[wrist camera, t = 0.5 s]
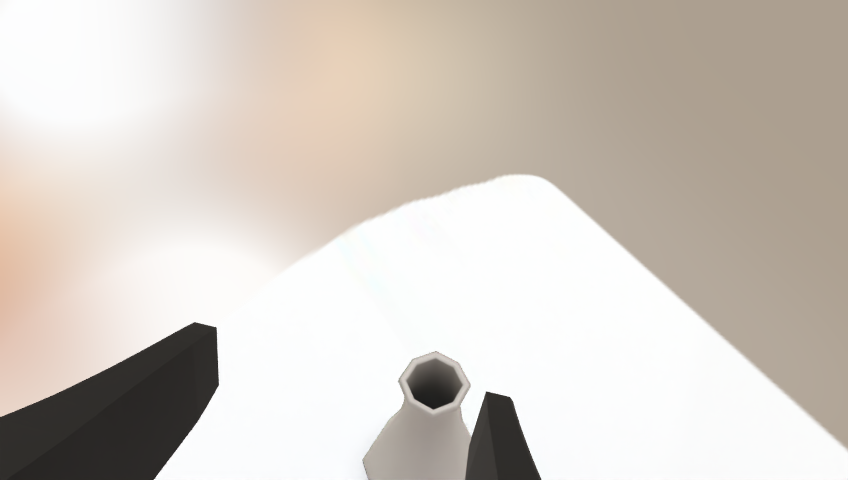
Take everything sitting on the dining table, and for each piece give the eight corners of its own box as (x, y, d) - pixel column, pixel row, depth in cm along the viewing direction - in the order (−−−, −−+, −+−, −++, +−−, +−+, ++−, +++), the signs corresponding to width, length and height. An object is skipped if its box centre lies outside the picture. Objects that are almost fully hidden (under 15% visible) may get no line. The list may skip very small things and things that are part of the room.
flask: (419, 565, 25) (429, 499, 18) (342, 459, 29) (326, 372, 22) (507, 473, 28) (543, 389, 22) (429, 390, 32) (438, 297, 26)
